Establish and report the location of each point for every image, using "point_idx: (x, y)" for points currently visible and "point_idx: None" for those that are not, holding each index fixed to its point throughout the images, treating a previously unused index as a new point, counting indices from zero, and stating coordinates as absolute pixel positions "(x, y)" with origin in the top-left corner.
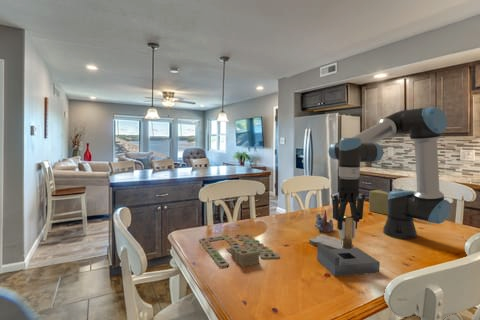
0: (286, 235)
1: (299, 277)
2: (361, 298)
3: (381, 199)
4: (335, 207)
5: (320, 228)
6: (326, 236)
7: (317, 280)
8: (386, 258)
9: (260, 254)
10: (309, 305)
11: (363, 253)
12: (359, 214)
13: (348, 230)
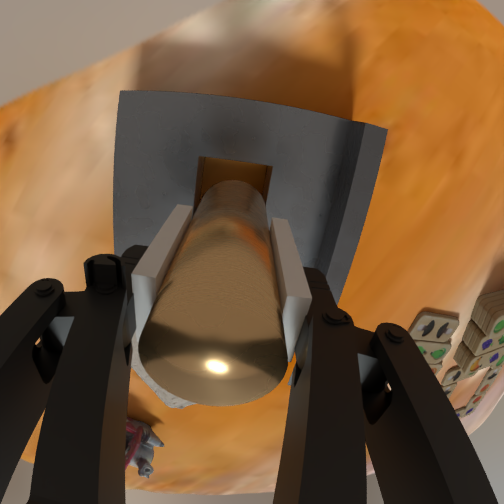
0: (277, 430)
1: (457, 177)
2: None
3: None
4: (472, 464)
5: (149, 432)
6: (164, 393)
7: (424, 132)
8: (35, 196)
9: (449, 338)
10: (500, 54)
11: (126, 195)
12: (39, 330)
13: (246, 231)
